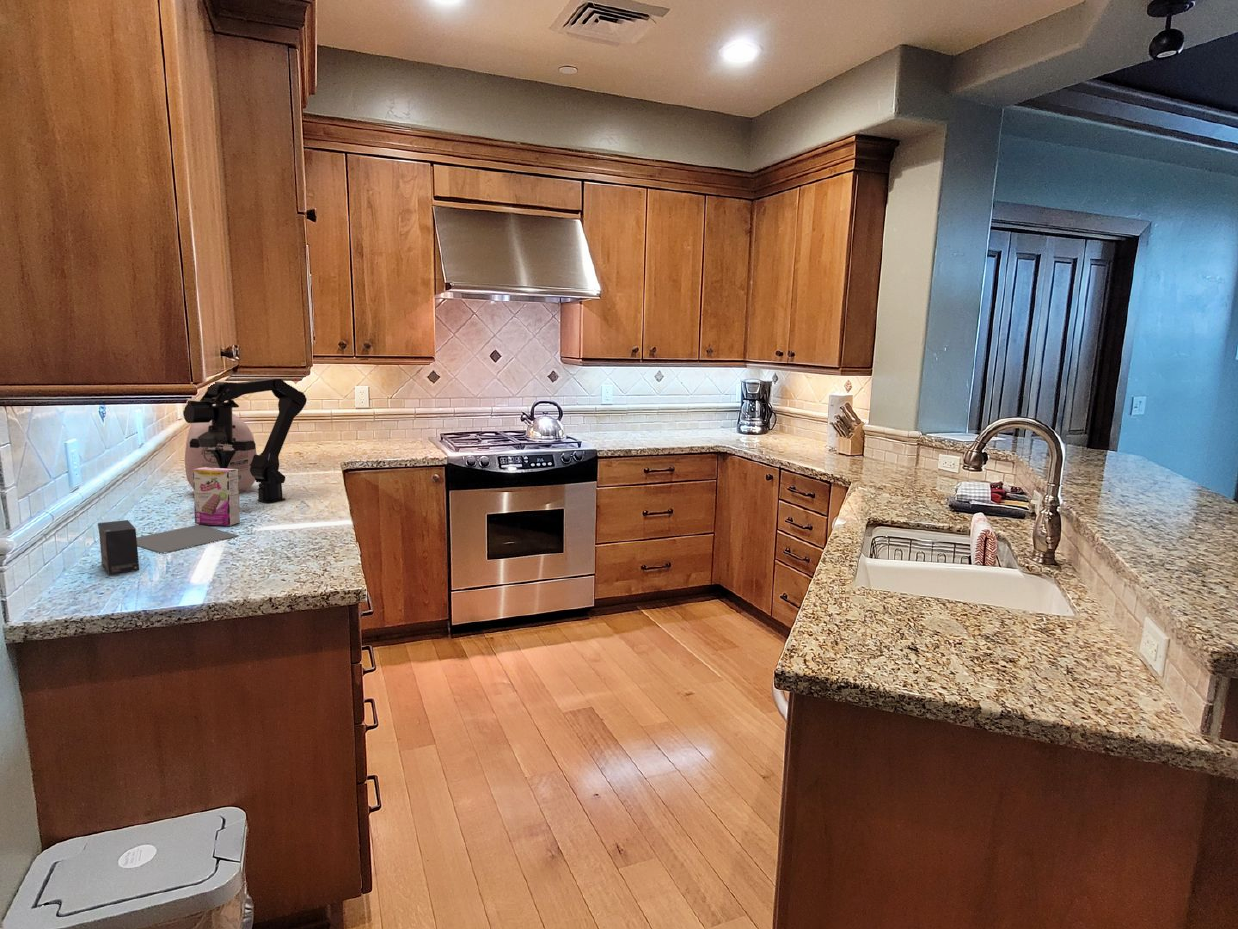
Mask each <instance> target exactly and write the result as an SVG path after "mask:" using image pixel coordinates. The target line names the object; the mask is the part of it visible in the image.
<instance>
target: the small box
mask: <svg viewBox="0 0 1238 929" xmlns="http://www.w3.org/2000/svg"><path fill="white" fill-rule="evenodd" d="M97 527H98V533H99V544H100V558H101V559H100V561H101V566H102V568H103V569H104V571H105V572H106V574H107V575H108V576H111V575H115V574H122V573H128V572H127V571H129V572H133V571H132V570H135V571H139V570H140V563H139V551H138V549H139V548H138V546H137V528H136V527H135V526H134V525H133V524H132V522H130V521H129V520H128V519H125V520H116V521H104V522H98V523H97Z"/></svg>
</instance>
